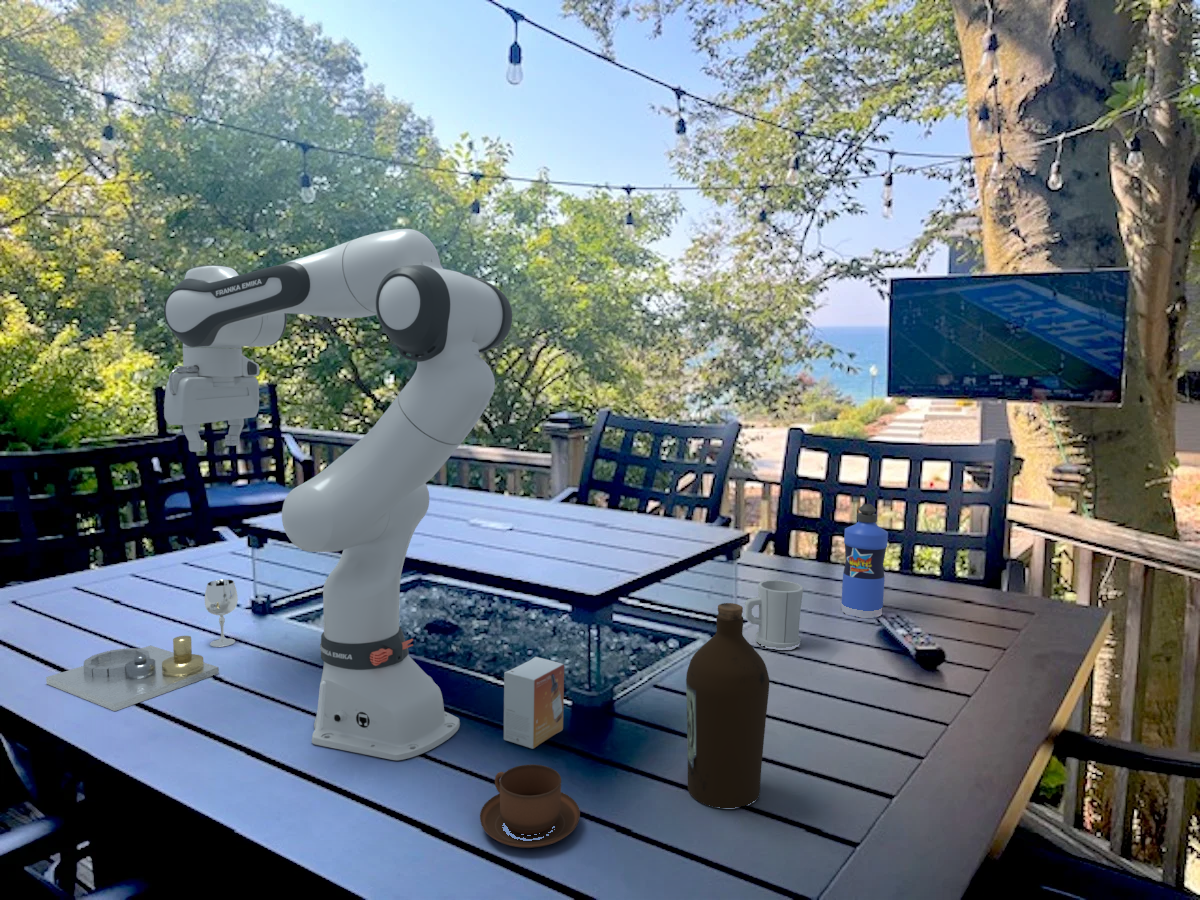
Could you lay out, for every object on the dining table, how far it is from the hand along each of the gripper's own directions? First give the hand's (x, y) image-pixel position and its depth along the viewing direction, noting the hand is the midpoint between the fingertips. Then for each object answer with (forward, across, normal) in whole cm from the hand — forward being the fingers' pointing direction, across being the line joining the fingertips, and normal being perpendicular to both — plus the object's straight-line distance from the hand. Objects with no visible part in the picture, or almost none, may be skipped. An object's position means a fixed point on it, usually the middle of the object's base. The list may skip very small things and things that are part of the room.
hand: (215, 448), depth 135 cm
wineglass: (+40, +15, +10) cm, 44 cm away
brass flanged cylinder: (+39, -1, +6) cm, 39 cm away
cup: (+40, +38, -96) cm, 111 cm away
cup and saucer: (+40, -33, -64) cm, 82 cm away
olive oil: (+39, -20, -87) cm, 97 cm away
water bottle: (+39, +64, -117) cm, 139 cm away
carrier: (+40, -4, +14) cm, 43 cm away
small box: (+40, -10, -58) cm, 71 cm away
